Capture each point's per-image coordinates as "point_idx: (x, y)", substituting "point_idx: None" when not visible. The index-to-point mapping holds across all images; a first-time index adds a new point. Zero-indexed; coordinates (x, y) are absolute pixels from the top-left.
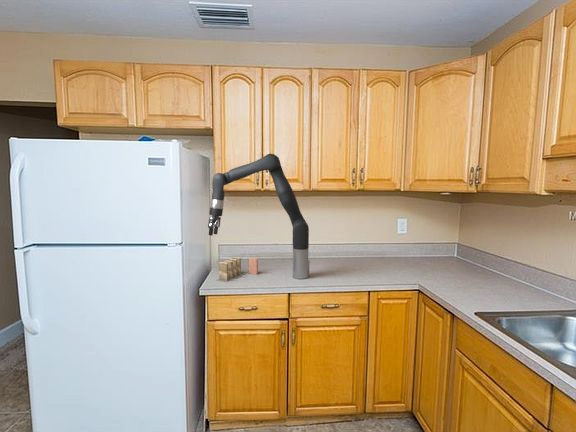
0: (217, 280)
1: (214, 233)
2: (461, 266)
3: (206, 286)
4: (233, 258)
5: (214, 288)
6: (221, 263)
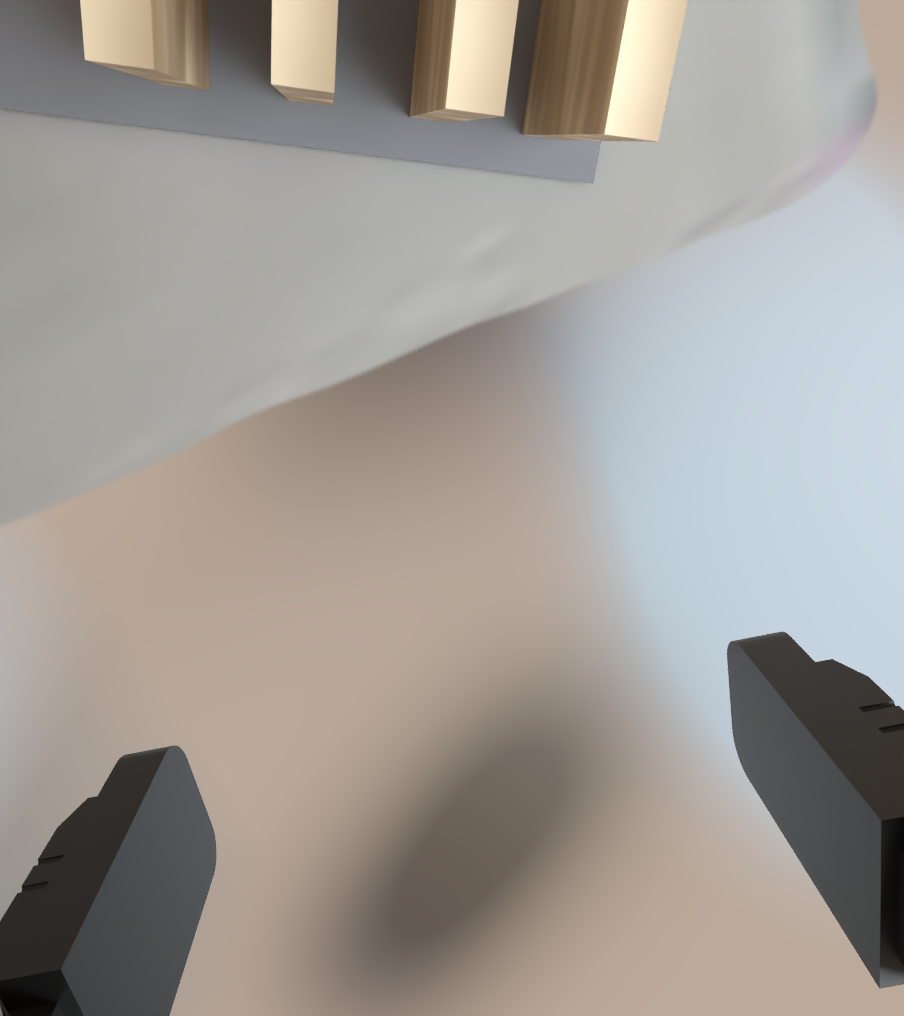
0: (582, 157)
1: (202, 837)
2: None
3: (777, 196)
4: (154, 28)
5: (845, 43)
6: (668, 74)
